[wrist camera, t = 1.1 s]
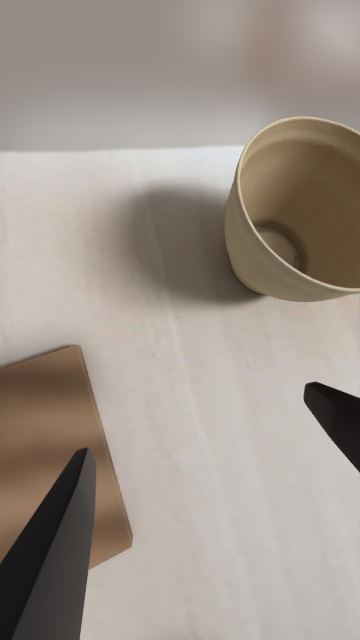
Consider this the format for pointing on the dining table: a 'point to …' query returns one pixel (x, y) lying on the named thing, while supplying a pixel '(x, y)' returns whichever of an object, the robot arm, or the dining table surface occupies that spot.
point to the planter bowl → (297, 211)
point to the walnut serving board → (54, 447)
